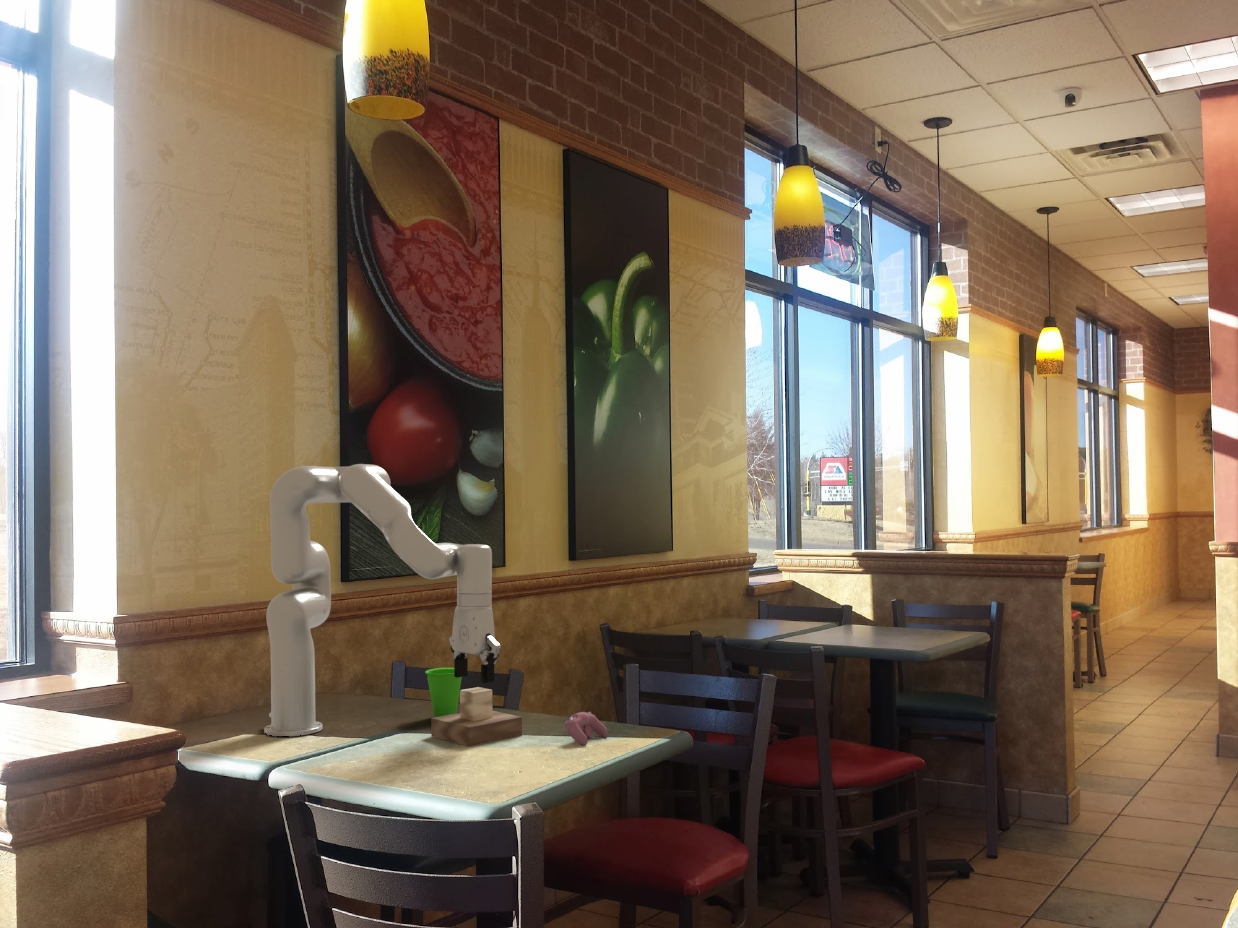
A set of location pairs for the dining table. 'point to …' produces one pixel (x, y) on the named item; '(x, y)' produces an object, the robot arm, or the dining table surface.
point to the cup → (443, 691)
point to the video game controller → (584, 727)
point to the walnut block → (476, 728)
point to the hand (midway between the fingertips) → (474, 679)
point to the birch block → (476, 704)
